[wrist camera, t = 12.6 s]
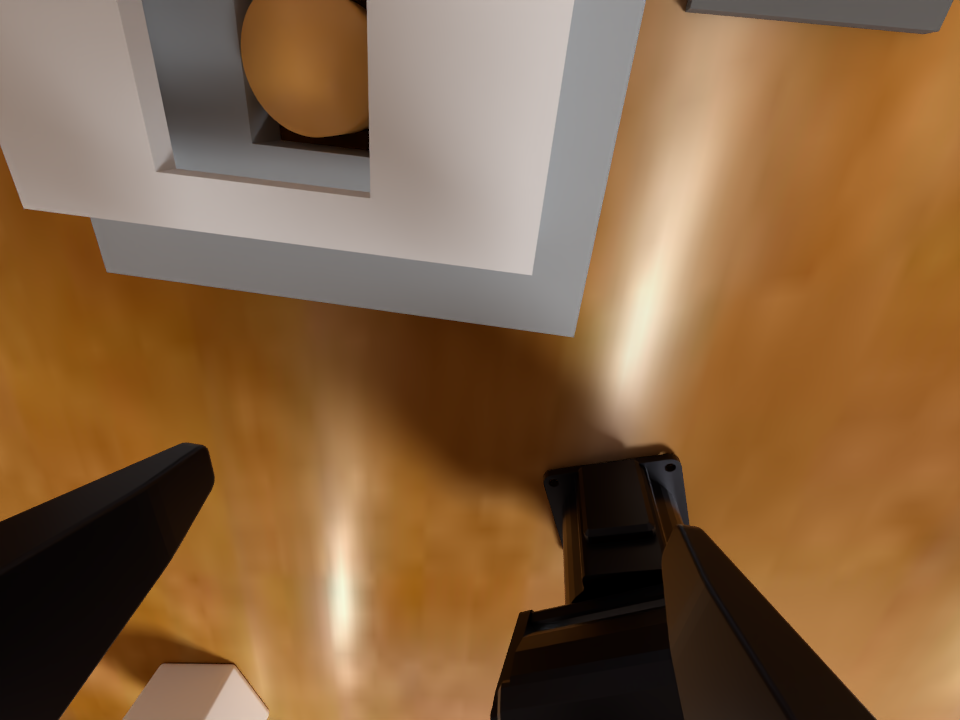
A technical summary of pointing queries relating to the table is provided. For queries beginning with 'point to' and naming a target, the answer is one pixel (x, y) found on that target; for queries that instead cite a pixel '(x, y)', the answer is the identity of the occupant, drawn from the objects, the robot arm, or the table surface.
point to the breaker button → (309, 64)
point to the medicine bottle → (197, 695)
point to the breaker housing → (330, 152)
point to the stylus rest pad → (836, 12)
